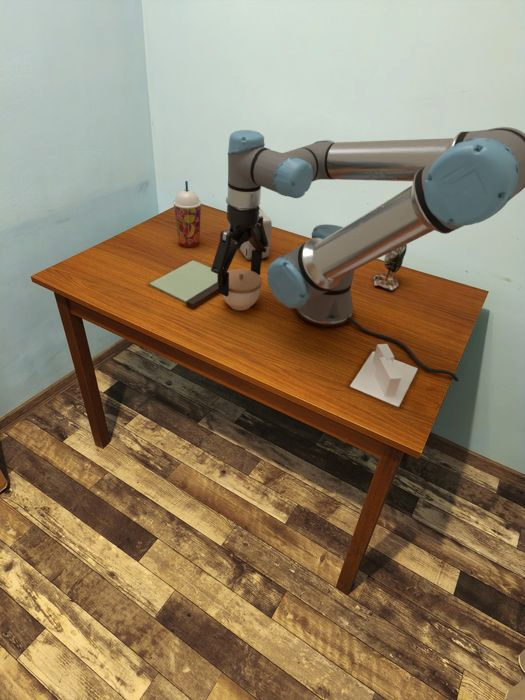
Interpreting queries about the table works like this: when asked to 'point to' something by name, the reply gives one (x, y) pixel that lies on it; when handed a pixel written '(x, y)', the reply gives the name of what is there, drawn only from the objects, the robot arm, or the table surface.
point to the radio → (246, 246)
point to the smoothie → (187, 217)
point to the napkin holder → (384, 376)
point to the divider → (202, 296)
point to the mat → (186, 281)
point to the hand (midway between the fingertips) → (239, 283)
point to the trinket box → (243, 289)
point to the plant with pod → (391, 269)
